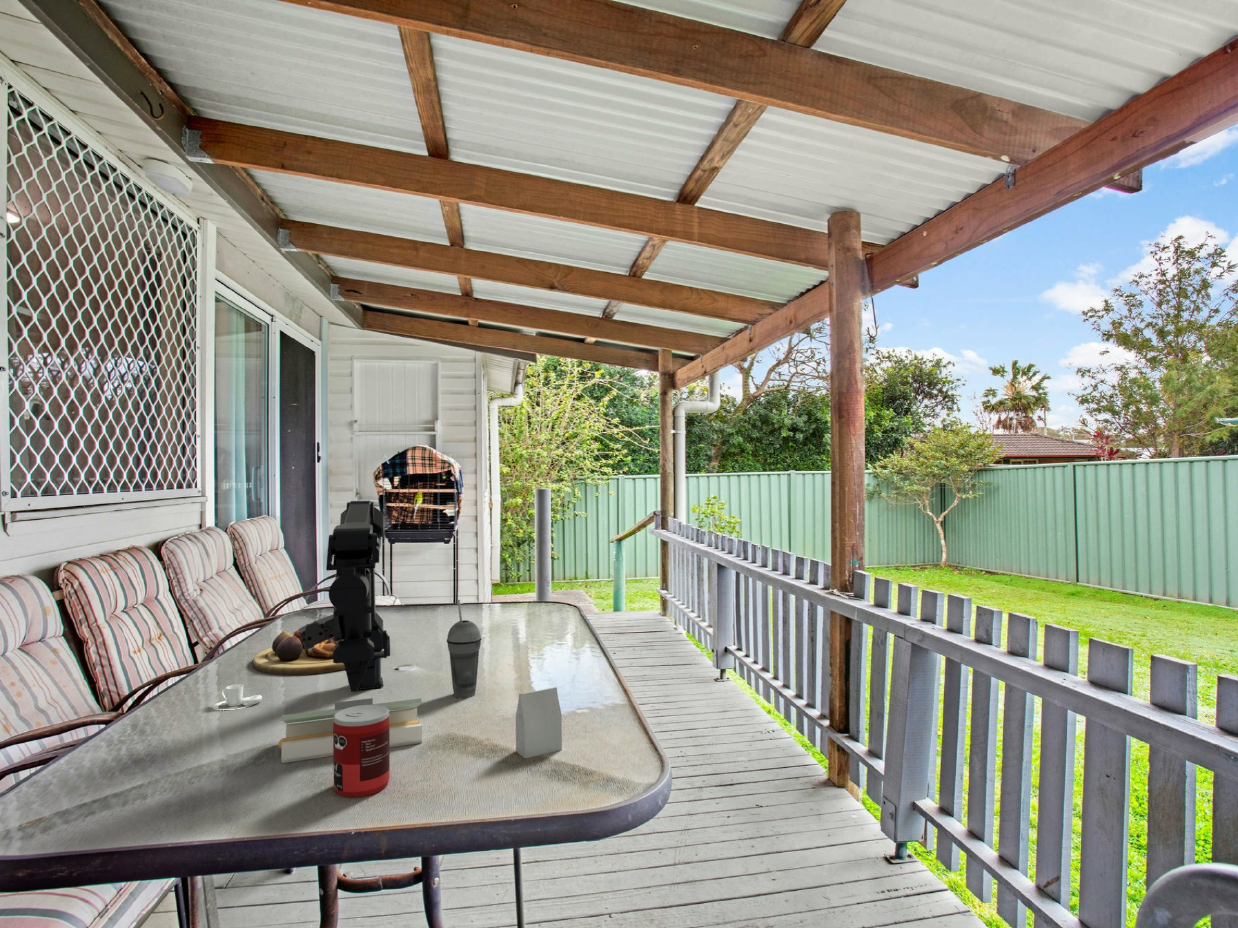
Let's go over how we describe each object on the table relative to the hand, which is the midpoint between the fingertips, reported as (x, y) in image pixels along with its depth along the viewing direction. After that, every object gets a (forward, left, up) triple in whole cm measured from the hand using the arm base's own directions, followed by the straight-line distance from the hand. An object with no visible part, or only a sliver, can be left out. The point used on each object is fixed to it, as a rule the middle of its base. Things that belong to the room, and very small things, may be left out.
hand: (353, 690), depth 119 cm
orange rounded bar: (-2, 0, -9) cm, 10 cm away
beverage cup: (-21, +22, -10) cm, 32 cm away
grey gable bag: (+14, +29, -10) cm, 34 cm away
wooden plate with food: (-66, -7, -10) cm, 67 cm away
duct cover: (-2, 0, -5) cm, 5 cm away
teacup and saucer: (-30, -22, -10) cm, 39 cm away
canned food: (+17, +1, -10) cm, 20 cm away
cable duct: (-2, 0, -9) cm, 10 cm away
